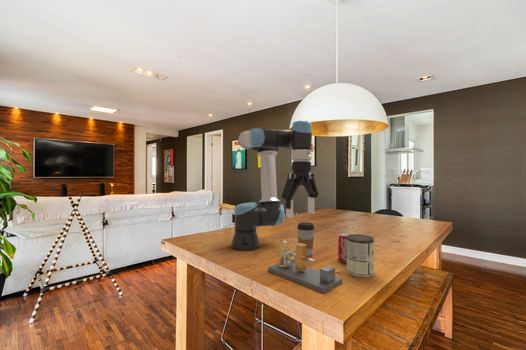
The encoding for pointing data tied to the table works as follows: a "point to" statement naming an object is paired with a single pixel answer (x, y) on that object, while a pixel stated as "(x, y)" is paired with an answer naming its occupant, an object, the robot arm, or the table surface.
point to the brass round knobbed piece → (283, 250)
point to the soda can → (342, 247)
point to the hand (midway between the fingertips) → (300, 215)
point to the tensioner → (327, 274)
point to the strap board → (305, 277)
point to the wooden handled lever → (298, 257)
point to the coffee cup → (306, 236)
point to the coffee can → (360, 255)
